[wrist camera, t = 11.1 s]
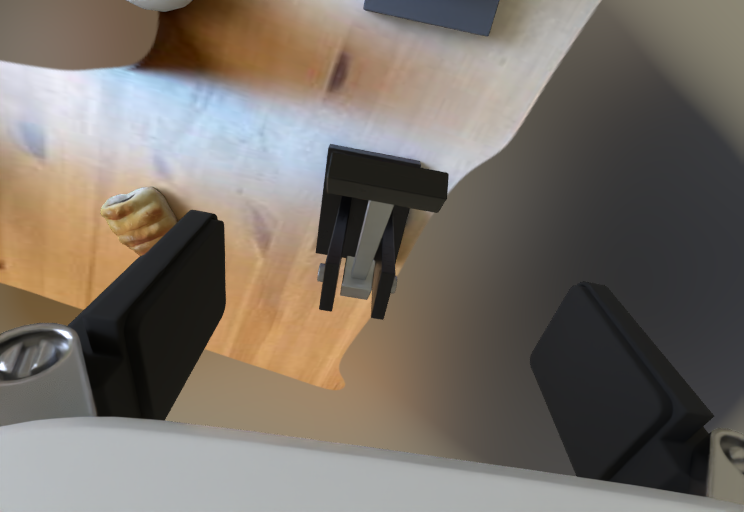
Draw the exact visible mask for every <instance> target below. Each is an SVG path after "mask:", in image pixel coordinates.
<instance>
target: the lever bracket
mask: <svg viewBox="0 0 744 512" xmlns="http://www.w3.org/2000/svg"><path fill="white" fill-rule="evenodd" d="M332 152H340V153H345V154H350V155H355V156H361V157H366V158H371V159H377V160H382V161H387V162H392V163H398V164H403V165H408V166H414V167H419V168H420V167H421V164H420V161H416V160H411V159H406V158H401V157H395V156H390V155H385V154H380V153H374V152H369V151H364V150H359V149H353V148H348V147H343V146H338V145H333V144H330V145H329V148H328V155H327V164H326V172H325V180H324V188H323V197H322V205H321V213H320V221H319V230H318V238H317V246H316V253H319V254H325V255H327V259H326V263H325V264H323V263H321V264H320V266H319V271H318V278H317V281H320V282H323V284H322V291H321V299H320V306H319V309H320V310H325V311H332V309H333V303H334V298H335V292H336V287H337V281H338V276H339V270H340V265H341V259H342V257H343V258H347V256H351V257H355V255H356V251H357V247H358V242H359V238H360V234H361V230H362V226H363V222H364V218H365V214H366V210H367V206H368V202H369V200H364V199H358V198H353V197H347V196H342V195H336V194H331V193H327V174H328V170H329V165H330V160H331V155H332ZM409 209H410V208H408V207H402V206H397V205H394V207H393V210H392V212H391V215H390V218H389V220H388V223H387V225H386V228H385V231H384V233H383V236H382V238H381V241H380V244H379V246H378V249H377V251H376V254H375V257H374V259H373V260H375V261H376V262H375V270H374V277H373V284H372V305H371V318H376V319H382V320H383V319H384V316H385V312H386V308H387V304H388V300H389V297H390V293H395V290H396V285H397V276H395V263H396V259H397V255H398V252H399V248H400V244H401V240H402V236H403V232H404V228H405V225H406V221H407V217H408V213H409Z"/></svg>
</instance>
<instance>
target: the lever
mask: <svg viewBox="0 0 744 512" xmlns="http://www.w3.org/2000/svg"><path fill="white" fill-rule="evenodd" d="M447 190H448V173H445V172H440V171H435V170H429V169H424V168H419V167H414V166H408V165H403V164H398V163H392V162H387V161H382V160H377V159H371V158H366V157H361V156H355V155H350V154H345V153H340V152H332V155H331V160H330V165H329V170H328V174H327V193H331V194H336V195H342V196H347V197H353V198H358V199H364V200H369V202H368V206H367V210H366V214H365V218H364V222H363V226H362V230H361V234H360V238H359V242H358V247H357V251H356V255H355V257H351V256H347V258H346V263H345V269H344V275H343V281H342V287H341V292H340V295H341V296H347V297H353V298H359V299H365V300H367V299H368V297H369V295H370V293H371V291H372V284H373V277H374V270H375V262H376V261H375V260H373V259H374V257H375V254H376V251H377V249H378V246H379V244H380V241H381V238H382V236H383V233H384V231H385V228H386V225H387V223H388V220H389V218H390V215H391V212H392V210H393V207H394V205H397V206H402V207H408V208H413V209H419V210H424V211H430V212H435V213H437V212H439V210H440V209H441V207H442V206H443V204H444V202H445V201H446V199H447Z"/></svg>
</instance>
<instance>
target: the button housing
mask: <svg viewBox="0 0 744 512" xmlns="http://www.w3.org/2000/svg"><path fill="white" fill-rule="evenodd" d="M498 3H499V0H365V1H364V10H367V11H372V12H376V13H381V14H386V15H390V16H395V17H399V18H404V19H408V20H413V21H418V22H422V23H427V24H431V25H436V26H441V27H445V28H450V29H454V30H459V31H464V32H468V33H473V34H477V35H482V36H489V33H490V30H491V26H492V23H493V20H494V16H495V13H496V10H497V6H498Z"/></svg>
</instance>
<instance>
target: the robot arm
mask: <svg viewBox="0 0 744 512" xmlns="http://www.w3.org/2000/svg"><path fill="white" fill-rule="evenodd" d="M225 305H226V291H225V238H224V223H223V221H219V220H218V219H217V216H216V215H215V214H212V213H207V212H201V211H196V210H190V211H189V212H188V213H187V214H186V215H185V216H184V217H183V218H182V219H181V220H179V221H178V222H177V223H176V224H175V225H174V226H173V227H172V228H171V229H170V230H169V231H168V232H167V233H166V234H165V235H164V236H163V237H162V238H161V239H160V240H159V241H158V242H157V243H156V244H155V245H154V246H153V247H152V248H151V249H150V250H149V251H148V252H147V253H145V254H144V255H142V256H140V257H139V258H138V259H137V260H136V261H135V262H133V263H132V264H131V265H130V266H129V267H128V268H127V269H126V270H125V271H124V272H123V273H122V274H121V275H120V276H119V277H118V278H117V279H116V280H115V281H114V282H113V283H112V284H111V285H109V286H108V287H107V288H106V289H105V290H104V291H103V292H102V293H101V294H100V295H99V296H98V297H97V298H96V299H95V300H94V301H93V302H92V303H91V304H90V305H89V306H88V307H87V308H86V309H84V310H83V311H82V312H81V313H80V314H79V315H78V316H77V317H76V318H75V319H74V320H73V321H72V322H71V323H70V324H69V325H68V326H66V325H61V324H57V323H37V324H30V325H24V326H21V327H18V328H14V329H11V330H8V331H5V332H3V333H1V334H0V512H744V434H742V433H739V432H737V431H733V430H731V429H726V428H718V429H715V430H713V431H712V432H711V433H708V432H707V431H706V430H705V429H704V427H703V426H704V425H705V424H706V423H707V422H708V421H709V420H711V419H712V418H713V417H714V415H713V414H712V413H711V412H710V410H709V409H708V408H707V407H706V406H705V405H704V403H703V402H702V401H701V400H700V398H699V397H698V396H697V395H696V393H695V392H694V391H693V390H692V389H691V387H690V386H689V385H688V384H687V383H686V381H685V380H684V379H683V378H682V377H681V376H680V374H679V373H678V372H677V371H676V369H675V368H674V367H673V366H672V365H671V363H670V362H669V361H668V360H667V359H666V357H665V356H664V355H663V354H662V352H661V351H660V350H659V349H658V348H657V346H656V345H655V344H654V343H653V342H652V341H651V339H650V338H649V337H648V336H647V334H646V333H645V332H644V331H643V330H642V328H641V327H640V326H639V325H638V323H637V322H636V321H635V320H634V319H633V317H632V316H631V315H630V314H629V313H628V311H627V310H626V309H625V308H624V307H623V306H622V304H621V303H620V302H619V301H618V300H617V298H616V297H615V296H614V295H613V293H612V292H611V291H610V290H609V288H607V287H606V286H605V285H600V284H595V283H589V282H580V283H579V284H577V285H575V286H572V287H571V288H570V289H569V291H568V293H567V295H566V296H565V298H564V300H563V301H562V303H561V305H560V306H559V308H558V310H557V311H556V313H555V315H554V316H553V318H552V320H551V321H550V323H549V325H548V326H547V328H546V330H545V332H544V333H543V335H542V337H541V338H540V340H539V342H538V343H537V345H536V347H535V348H534V350H533V352H532V354H531V357H530V365H531V368H532V371H533V373H534V375H535V378H536V380H537V382H538V385H539V387H540V390H541V392H542V394H543V397H544V399H545V402H546V404H547V406H548V409H549V411H550V413H551V416H552V418H553V421H554V423H555V426H556V428H557V430H558V433H559V435H560V438H561V440H562V442H563V445H564V447H565V450H566V452H567V454H568V457H569V459H570V462H571V464H572V466H573V469H574V471H575V473H576V476H577V477H575V476H568V475H561V474H554V473H546V472H541V471H534V470H527V469H519V468H513V467H506V466H499V465H492V464H485V463H478V462H471V461H464V460H457V459H450V458H443V457H436V456H429V455H422V454H414V453H408V452H401V451H393V450H387V449H379V448H372V447H365V446H358V445H350V444H342V443H336V442H328V441H321V440H314V439H306V438H299V437H292V436H284V435H277V434H269V433H261V432H255V431H247V430H239V429H231V428H222V427H214V426H206V425H196V424H189V423H180V422H172V421H165V419H166V417H167V415H168V413H169V412H170V410H171V408H172V406H173V404H174V403H175V401H176V399H177V397H178V395H179V394H180V392H181V390H182V388H183V386H184V385H185V383H186V381H187V379H188V377H189V376H190V374H191V372H192V370H193V368H194V366H195V365H196V363H197V361H198V359H199V357H200V356H201V354H202V352H203V350H204V348H205V347H206V345H207V343H208V341H209V339H210V338H211V336H212V334H213V332H214V330H215V329H216V327H217V325H218V323H219V321H220V319H221V318H222V316H223V313H224V310H225Z"/></svg>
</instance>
